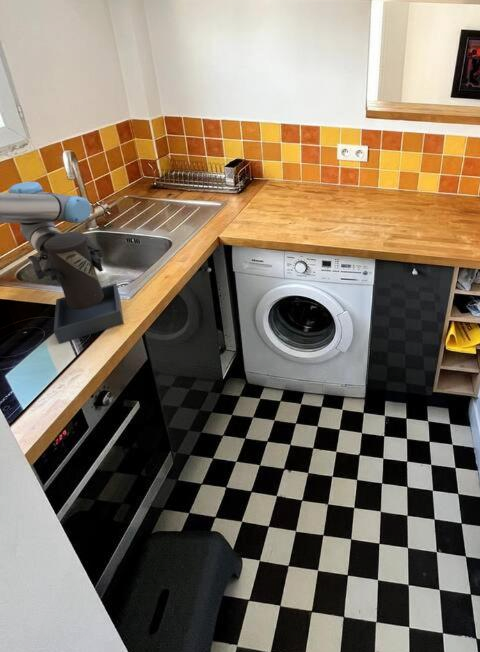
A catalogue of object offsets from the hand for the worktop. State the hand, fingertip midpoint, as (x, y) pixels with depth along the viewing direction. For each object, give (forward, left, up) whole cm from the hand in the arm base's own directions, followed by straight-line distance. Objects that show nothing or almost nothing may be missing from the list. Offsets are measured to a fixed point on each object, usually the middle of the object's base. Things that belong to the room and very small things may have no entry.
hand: (81, 273), depth 99 cm
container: (-2, +5, -11) cm, 12 cm away
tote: (-2, +5, -17) cm, 18 cm away
